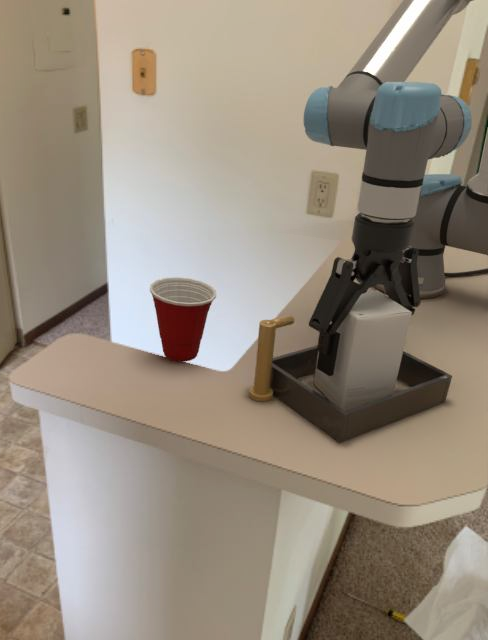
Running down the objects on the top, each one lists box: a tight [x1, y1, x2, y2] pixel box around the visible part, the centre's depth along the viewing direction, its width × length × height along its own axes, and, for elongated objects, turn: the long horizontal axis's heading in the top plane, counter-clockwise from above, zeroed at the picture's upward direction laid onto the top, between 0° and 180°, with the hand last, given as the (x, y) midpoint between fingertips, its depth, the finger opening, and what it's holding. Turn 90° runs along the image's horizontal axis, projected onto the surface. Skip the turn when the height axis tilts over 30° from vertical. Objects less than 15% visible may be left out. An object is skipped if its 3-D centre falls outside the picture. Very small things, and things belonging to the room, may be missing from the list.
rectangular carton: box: [313, 289, 413, 411], centre depth 90 cm, size 9×9×15 cm
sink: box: [248, 314, 453, 444], centre depth 90 cm, size 25×18×12 cm
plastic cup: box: [149, 276, 217, 363], centre depth 101 cm, size 11×11×12 cm
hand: (357, 361), depth 91 cm, fingers open, 12 cm apart
